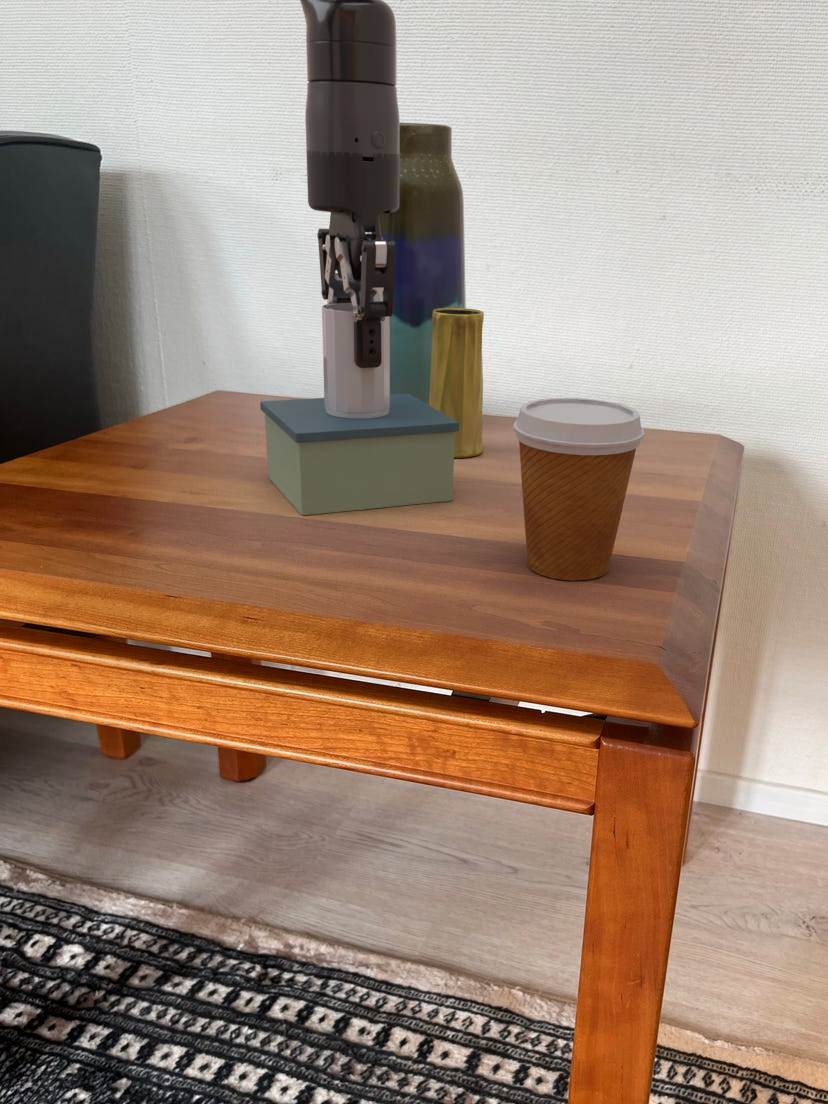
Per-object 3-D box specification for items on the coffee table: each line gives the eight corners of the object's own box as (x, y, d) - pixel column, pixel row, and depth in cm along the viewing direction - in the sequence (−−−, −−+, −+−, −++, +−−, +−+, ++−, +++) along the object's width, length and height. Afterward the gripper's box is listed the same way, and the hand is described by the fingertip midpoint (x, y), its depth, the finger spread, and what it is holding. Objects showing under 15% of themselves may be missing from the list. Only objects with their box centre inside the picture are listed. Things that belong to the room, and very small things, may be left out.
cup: (336, 420, 88) (333, 312, 84) (317, 406, 93) (314, 303, 89) (399, 416, 90) (399, 311, 87) (377, 402, 95) (377, 302, 91)
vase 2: (438, 460, 105) (441, 316, 99) (417, 445, 110) (418, 307, 104) (492, 456, 107) (498, 314, 101) (469, 441, 112) (473, 306, 106)
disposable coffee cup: (627, 595, 74) (644, 430, 69) (497, 582, 75) (504, 420, 70) (632, 550, 82) (648, 401, 77) (515, 539, 84) (523, 392, 78)
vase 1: (437, 434, 115) (443, 122, 101) (327, 419, 119) (319, 119, 106) (481, 410, 126) (491, 128, 113) (380, 397, 131) (378, 125, 117)
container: (299, 517, 87) (296, 433, 84) (264, 477, 97) (260, 401, 94) (457, 501, 92) (459, 422, 89) (407, 465, 103) (408, 393, 100)
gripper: (284, 145, 87) (293, 348, 94) (334, 146, 75) (339, 378, 82) (368, 149, 90) (370, 345, 97) (429, 150, 78) (426, 373, 85)
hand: (356, 359), depth 90 cm, fingers closed on cup, 5 cm apart
